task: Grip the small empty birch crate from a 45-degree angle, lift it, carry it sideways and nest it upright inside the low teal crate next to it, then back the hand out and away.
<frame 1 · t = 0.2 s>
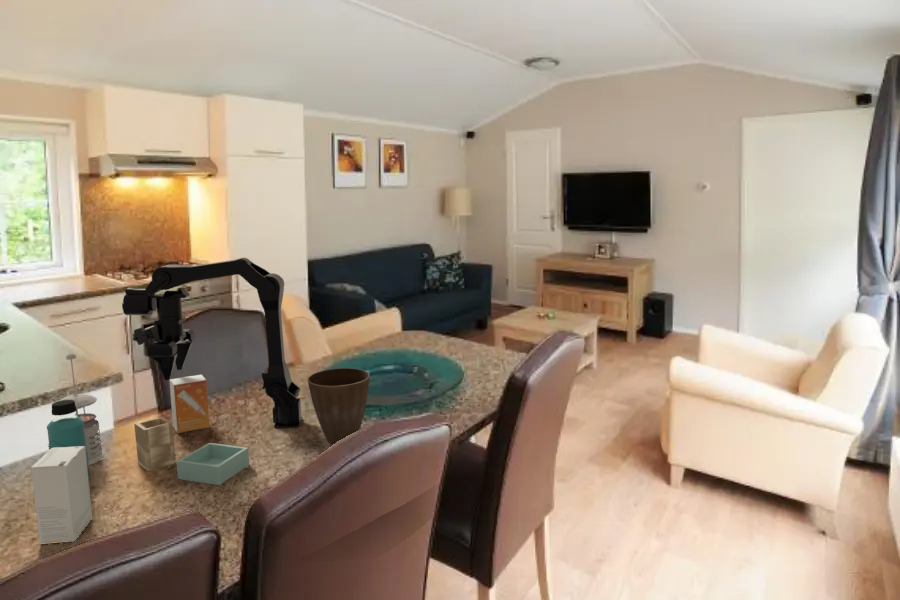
hand: (173, 374, 157), 14 cm above the table, tool pointing down, fingers open, 9 cm apart
teal crate: (214, 471, 134), on the table
plant pot: (341, 439, 152), on the table
small box: (191, 427, 160), on the table
birch crate: (156, 463, 139), on the table
french press: (83, 458, 142), on the table
skincare box: (67, 533, 110), on the table
beverage bottle: (73, 497, 123), on the table
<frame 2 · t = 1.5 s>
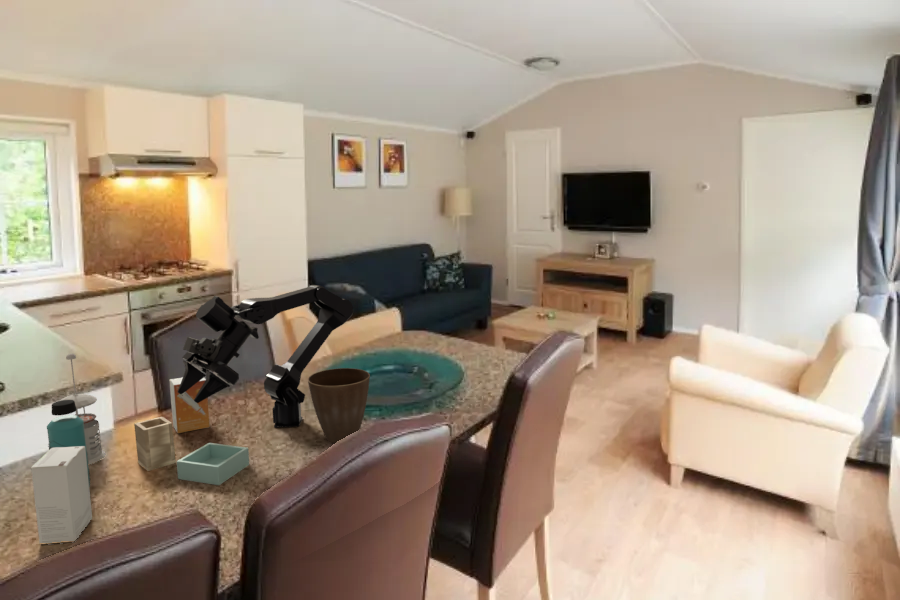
hand: (187, 397, 142), 13 cm above the table, tool tilted 45°, fingers open, 9 cm apart
nothing on the table moved.
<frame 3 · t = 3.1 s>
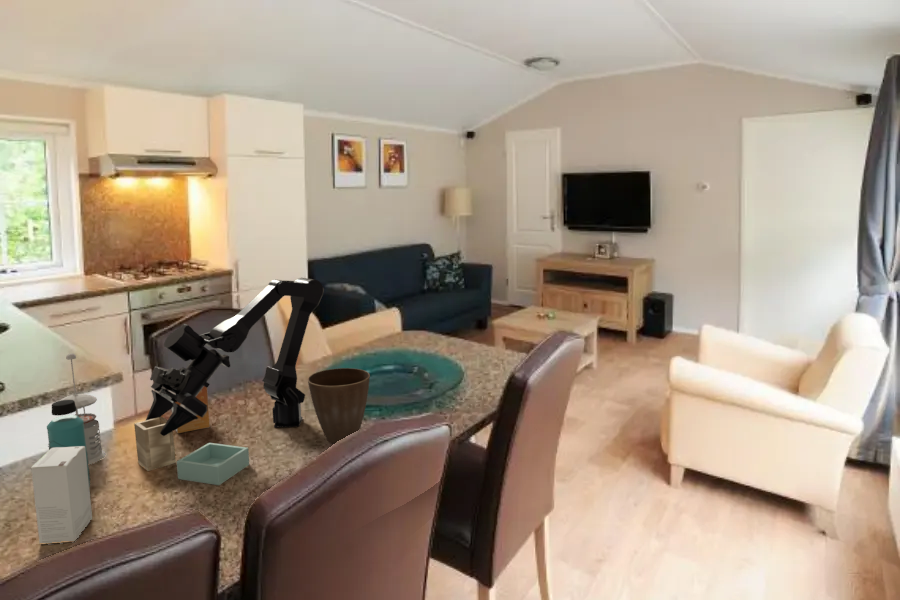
hand: (153, 429, 137), 8 cm above the table, tool tilted 45°, fingers open, 9 cm apart
nothing on the table moved.
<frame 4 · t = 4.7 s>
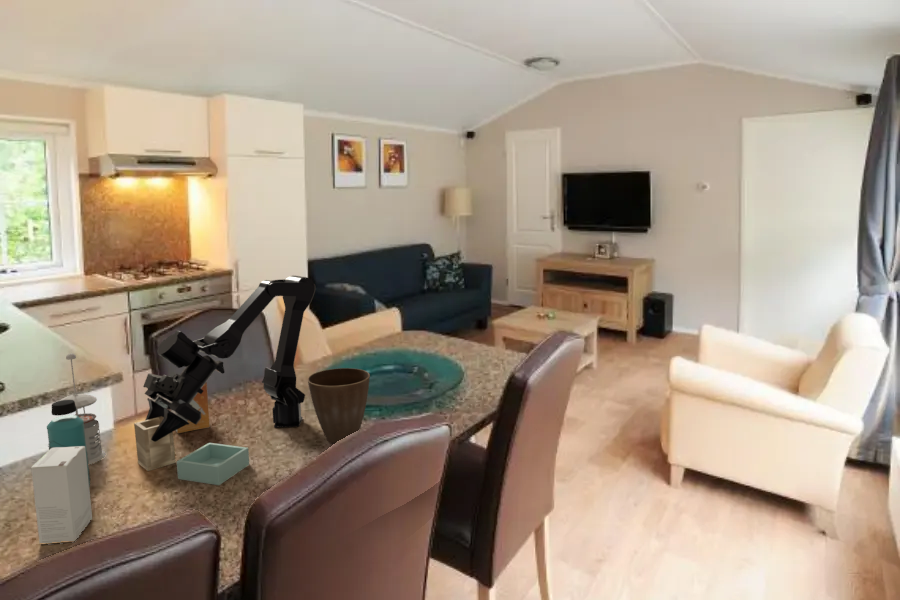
hand: (147, 436, 136), 7 cm above the table, tool tilted 45°, fingers closed on birch crate, 6 cm apart
birch crate: (156, 462, 139), on the table, touching gripper
everything else where it was.
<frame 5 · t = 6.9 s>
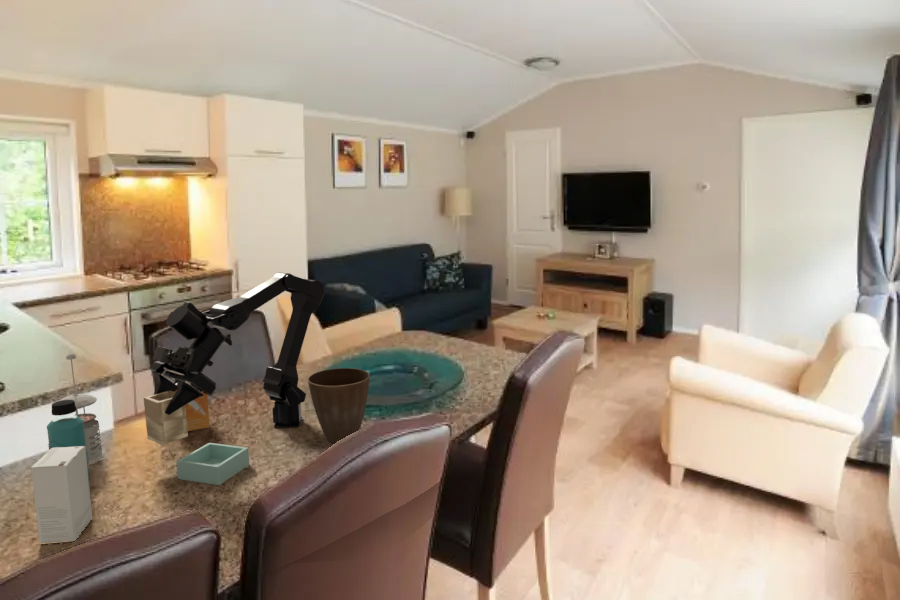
hand: (159, 410, 133), 13 cm above the table, tool tilted 45°, fingers closed on birch crate, 6 cm apart
birch crate: (167, 437, 135), point 7 cm above the table, touching gripper
everything else where it was.
when the fingers open (9 cm above the table, at t = 9.4 s): birch crate drops 1 cm, resting on teal crate.
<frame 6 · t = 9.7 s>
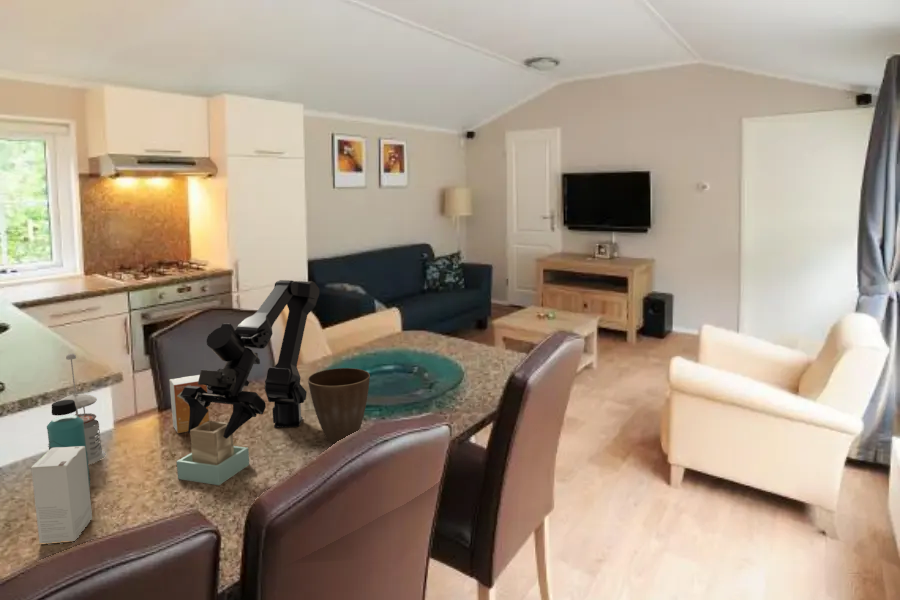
hand: (207, 435, 131), 9 cm above the table, tool tilted 45°, fingers open, 9 cm apart
birch crate: (214, 468, 134), point 1 cm above the table, touching teal crate
everything else where it was.
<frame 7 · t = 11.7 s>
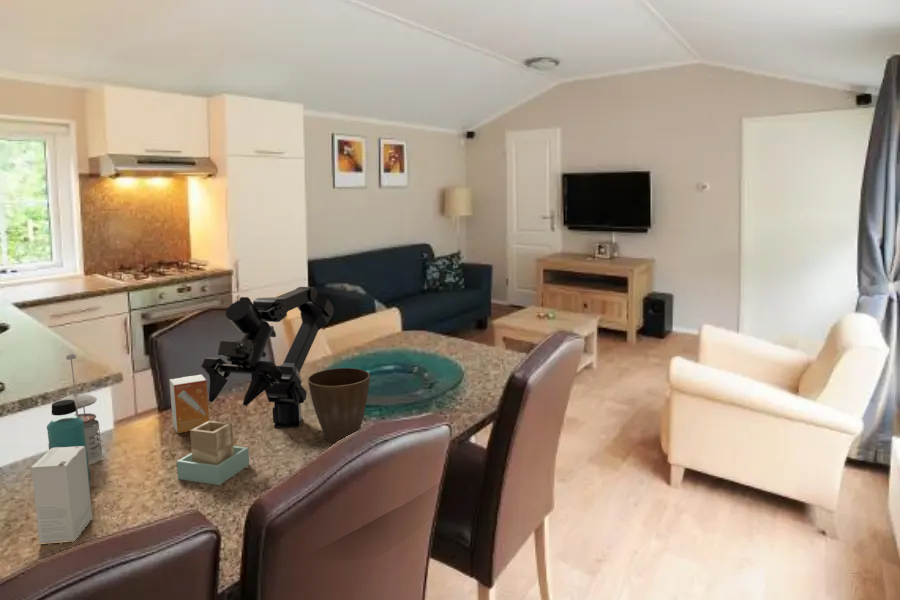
hand: (227, 403, 137), 14 cm above the table, tool tilted 45°, fingers open, 9 cm apart
nothing on the table moved.
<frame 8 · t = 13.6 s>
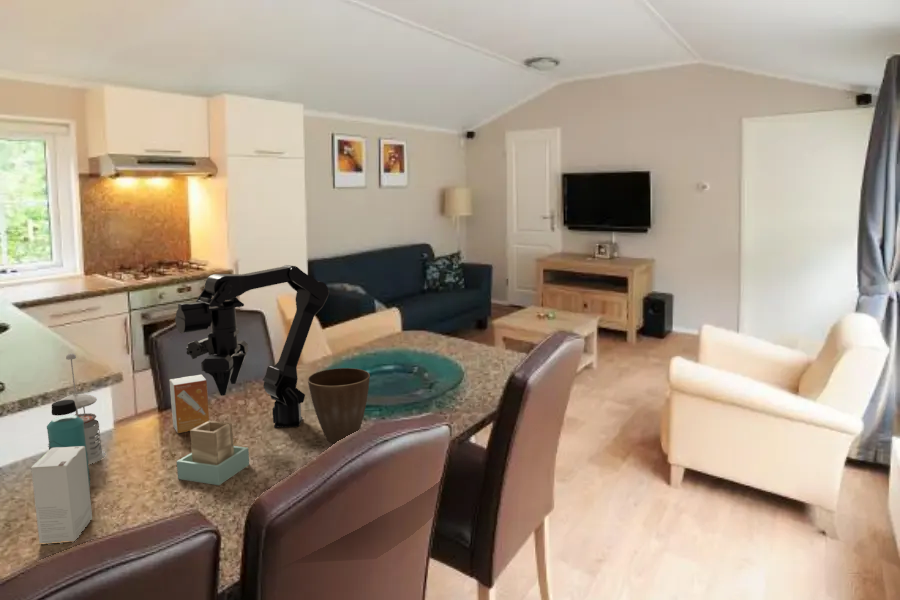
hand: (228, 389, 149), 13 cm above the table, tool pointing down, fingers open, 9 cm apart
nothing on the table moved.
at the end: birch crate 0.0 cm off-centre on the teal crate, point 0.8 cm above the teal crate's base; birch crate tilted 0°; the gripper is holding nothing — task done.
